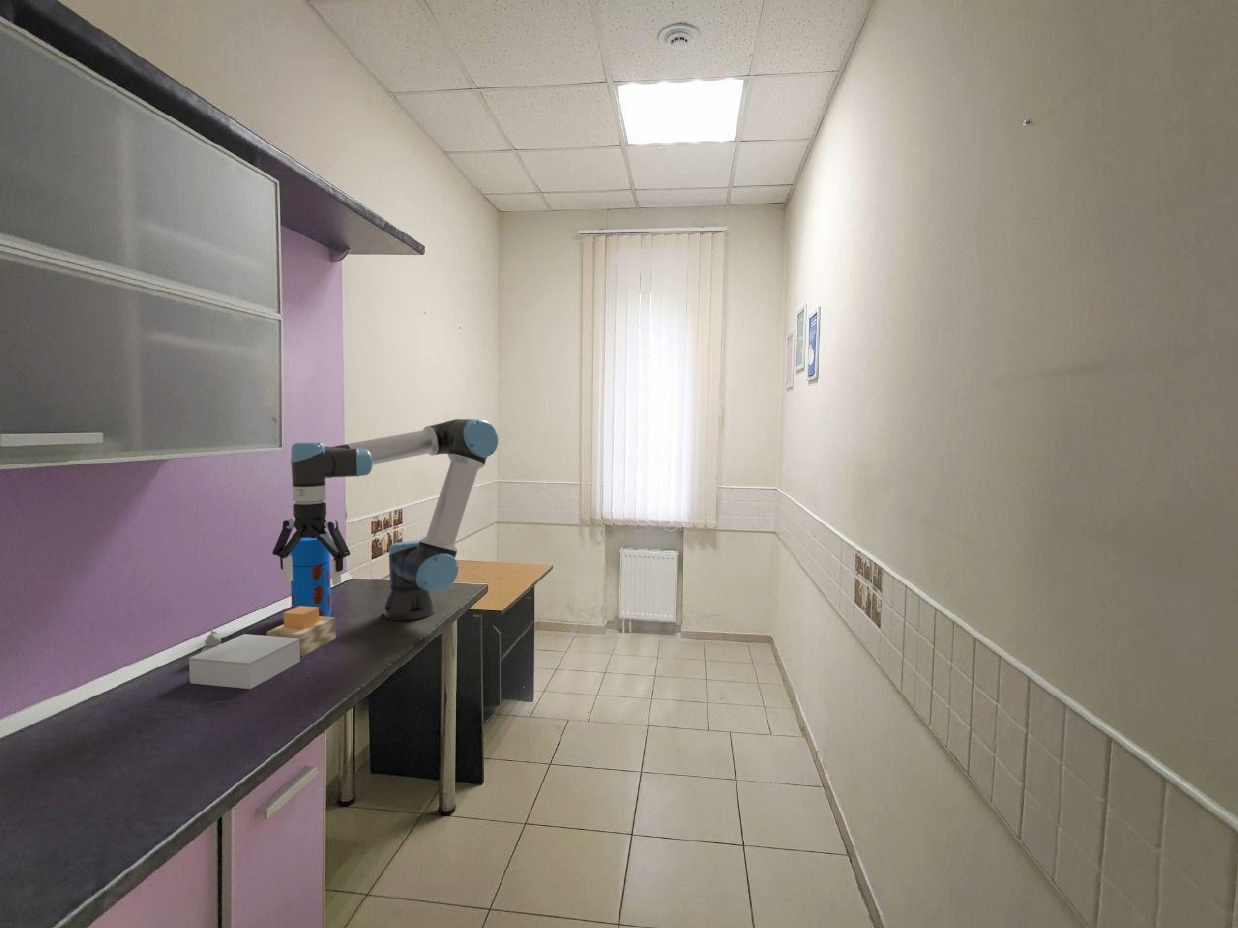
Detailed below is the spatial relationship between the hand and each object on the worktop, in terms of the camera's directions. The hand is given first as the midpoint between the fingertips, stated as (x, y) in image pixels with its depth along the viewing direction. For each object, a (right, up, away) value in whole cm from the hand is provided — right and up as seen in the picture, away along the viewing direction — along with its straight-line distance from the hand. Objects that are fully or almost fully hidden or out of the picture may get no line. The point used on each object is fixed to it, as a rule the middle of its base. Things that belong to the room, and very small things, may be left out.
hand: (312, 582), depth 156 cm
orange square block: (-6, -13, +6) cm, 15 cm away
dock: (-10, -19, -11) cm, 24 cm away
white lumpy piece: (-23, -19, -4) cm, 30 cm away
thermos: (-16, -17, +30) cm, 38 cm away
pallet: (-6, -19, +6) cm, 20 cm away
